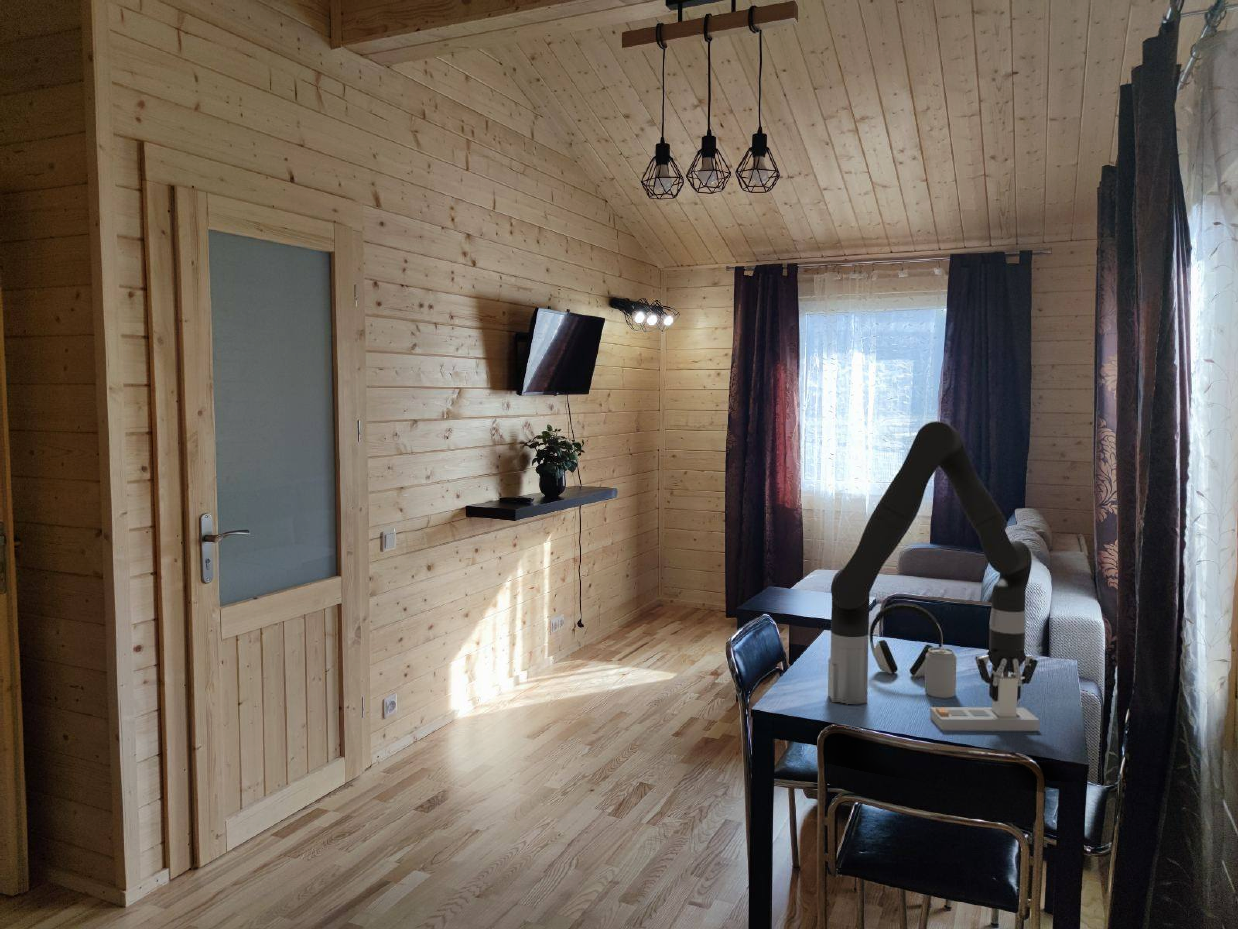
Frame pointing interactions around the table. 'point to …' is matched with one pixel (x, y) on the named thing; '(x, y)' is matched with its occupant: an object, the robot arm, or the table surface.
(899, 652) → the table surface
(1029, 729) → the power strip
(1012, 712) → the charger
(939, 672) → the can
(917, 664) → the headphones
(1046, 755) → the table surface
